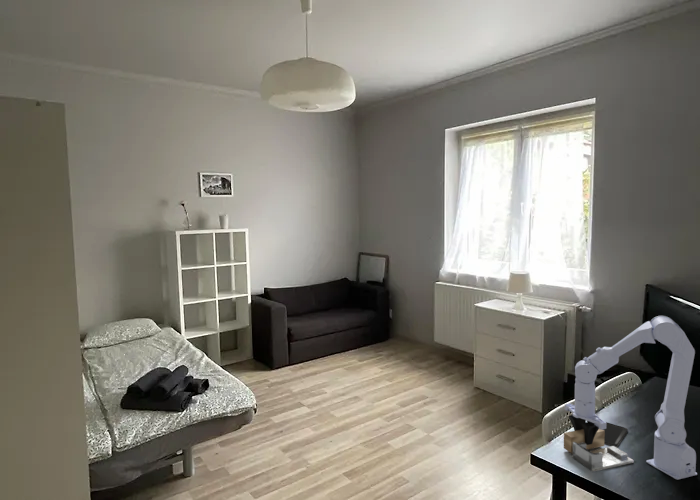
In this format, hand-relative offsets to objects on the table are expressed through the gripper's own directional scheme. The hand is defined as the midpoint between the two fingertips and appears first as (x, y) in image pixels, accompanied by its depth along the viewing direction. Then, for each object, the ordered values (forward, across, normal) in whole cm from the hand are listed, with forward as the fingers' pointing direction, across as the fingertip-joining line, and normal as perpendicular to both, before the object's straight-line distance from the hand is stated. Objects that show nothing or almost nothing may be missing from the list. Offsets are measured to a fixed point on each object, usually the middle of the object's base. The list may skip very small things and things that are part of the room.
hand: (584, 441), depth 137 cm
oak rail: (+2, 0, 0) cm, 2 cm away
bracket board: (+3, +6, +1) cm, 7 cm away
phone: (+3, -5, +15) cm, 16 cm away
